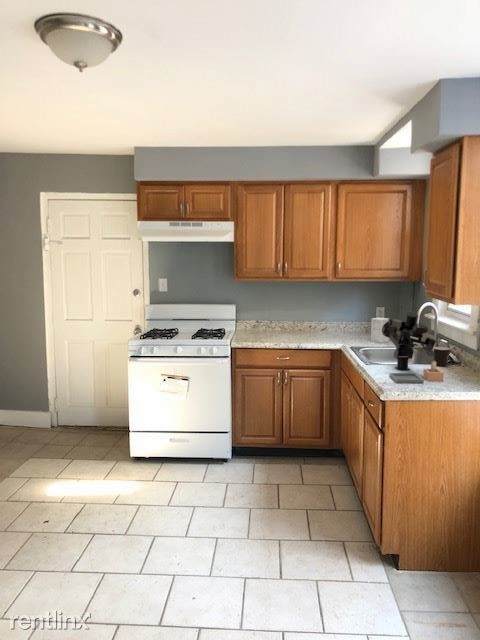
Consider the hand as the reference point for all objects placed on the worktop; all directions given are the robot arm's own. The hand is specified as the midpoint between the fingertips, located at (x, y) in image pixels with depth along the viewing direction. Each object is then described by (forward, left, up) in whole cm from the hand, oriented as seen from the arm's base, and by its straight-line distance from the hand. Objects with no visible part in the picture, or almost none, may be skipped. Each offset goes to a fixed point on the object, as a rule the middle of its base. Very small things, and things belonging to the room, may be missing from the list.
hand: (422, 348), depth 243 cm
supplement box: (-111, +6, -17) cm, 113 cm away
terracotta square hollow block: (-3, +7, -16) cm, 18 cm away
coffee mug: (-35, +23, -17) cm, 45 cm away
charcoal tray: (-1, -7, -16) cm, 18 cm away
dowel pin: (-3, +7, -16) cm, 18 cm away
